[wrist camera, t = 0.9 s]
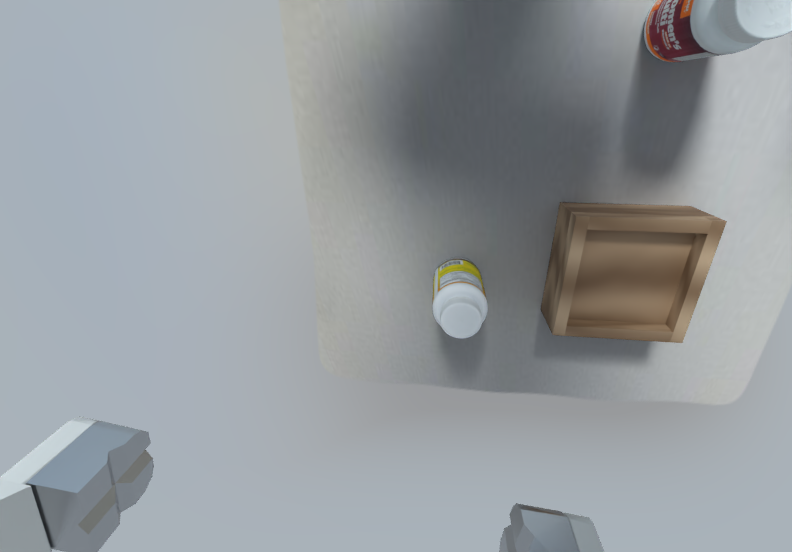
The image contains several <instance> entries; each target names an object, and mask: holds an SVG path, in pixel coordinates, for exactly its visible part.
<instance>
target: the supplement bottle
mask: <svg viewBox="0 0 792 552" xmlns="http://www.w3.org/2000/svg"><path fill="white" fill-rule="evenodd" d="M432 309H433V315H434V318H435V320H436V321H437V323H438V324H439V325H440V326H441V327H442V329H443V330H444V331H445V332H446V333H447V334H448V335H449V336H451V337H454V338H459V339H463V338H468V337H471V336H473V335H474V334H476V333H477V332H478V331H479V329H480V327H481V325H482V323H483V321H484V320H485V318H486V316H487V312H488V304H487V299H486V295H485V291H484V287H483V283H482V278H481V274H480V272H479V270H478V268H477V267H476V265H475V264H474V263H472V262H471V261H469V260H467V259H464V258H451V259H448V260H446V261H444V262H443V263H441V264H440V265H439V266H438V268H437V269H436V271H435V274H434V279H433V303H432Z"/></svg>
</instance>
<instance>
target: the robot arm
mask: <svg viewBox="0 0 792 552" xmlns="http://www.w3.org/2000/svg"><path fill="white" fill-rule="evenodd" d="M149 444H150V438H149V433H148V432H146V431H142V430H138V429H133V428H129V427H124V426H120V425H116V424H111V423H107V422H103V421H97V420H93V419H88V418H83V417H77V418H75V419H72V420H70V421H68V422H67V423H66V424H65V425H63V426H62V427H61V428H60V429H58V430H57V431H56V432H55V433H53V434H52V435H51V436H50V437H49V438H47V439H46V440H45V441H44V442H42V443H41V444H40V445H39V446H38V447H36V448H35V449H34V450H33V451H31V452H30V453H29V454H28V455H26V456H25V457H24V458H23V459H22V460H21V461H19V462H18V463H17V464H15V465H14V466H13V467H12V468H10V469H9V470H8V471H7V472H5V473H4V474H3V475H2V476H1V477H0V552H52V550H51V549H55V550H60V551H66V552H98V550H99V549H100V548H101V547H102V545H103V544H104V543H105V542H106V540H107V539H108V538H109V537H110V535H111V534H112V533H113V532H114V530H115V529H116V528H117V527H118V525H119V524H120V513H121V512H122V511H124V510H126V509H127V508H129V507H131V506H132V505H134V504H136V502H137V501H138V500H139V498H140V497H141V496H142V495H143V493H144V492H145V490H146V488H147V486H148V484H149V482H150V480H151V478H152V473H153V467H154V465H153V458H152V457H151V456H150V454H149V453H148V452H147V451H146V450H145V449H146V448H147V447H148V446H149ZM510 519H511V525H510V526H508V527H506V528H504V531H503V534H502V538H501V542H500V551H499V552H604V550H603V547H602V544H601V542H600V539H599V537H598V534H597V531H596V529H595V526H594V524H593V522H592V521H591V520H590V518H588V517H583V516H578V515H573V514H568V513H562V512H560V511H555V510H550V509H544V508H539V507H533V506H528V505H522V504H517V503H516V504H515V505H514V506H513V508H512V510H511V513H510Z"/></svg>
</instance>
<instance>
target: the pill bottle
mask: <svg viewBox="0 0 792 552" xmlns="http://www.w3.org/2000/svg"><path fill="white" fill-rule="evenodd" d="M791 31H792V0H656V1H655V3H654V4H653V6H652V7H651V9H650V11H649V13H648V15H647V18H646V21H645V26H644V39H645V43H646V46H647V48H648V50H649V51H650V53H651V54H652V55H653V56H655V57H656V58H658V59H660V60H662V61H666V62H681V61H687V60H694V59H699V58H706V57H713V56H719V55H726V54H733V53H736V52H740V51H743V50H746V49H749V48H751V47H753V46H755V45H757V44H758V43H760V42H762V41H764V40H769V39H773V38H777V37H780V36H783V35H785V34H787V33H789V32H791Z"/></svg>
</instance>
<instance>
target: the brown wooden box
mask: <svg viewBox="0 0 792 552" xmlns="http://www.w3.org/2000/svg"><path fill="white" fill-rule="evenodd" d="M726 222H727V221H724V220H722V219H720V218H717V217H715V216H713V215H710V214H708V213H706V212H703V211H701V210H698V209H696V208H694V207H691V206H668V205H633V204H599V203H564V202H560V205H559V211H558V216H557V222H556V227H555V233H554V239H553V244H552V250H551V255H550V261H549V266H548V272H547V278H546V283H545V289H544V294H543V300H542V305H541V311H542V313H543V315H544V317H545V320H546V322H547V324H548V326H549V328H550V330H551V332H552V334H553V335H561V336H577V337H593V338H610V339H626V340H643V341H659V342H676V343H682V342H683V339H684V337H685V334H686V331H687V329H688V326H689V323H690V320H691V318H692V315H693V312H694V309H695V307H696V304H697V301H698V298H699V296H700V293H701V290H702V287H703V285H704V282H705V279H706V277H707V274H708V271H709V268H710V266H711V263H712V260H713V257H714V255H715V252H716V249H717V246H718V244H719V241H720V238H721V235H722V233H723V230H724V227H725V224H726Z"/></svg>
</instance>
